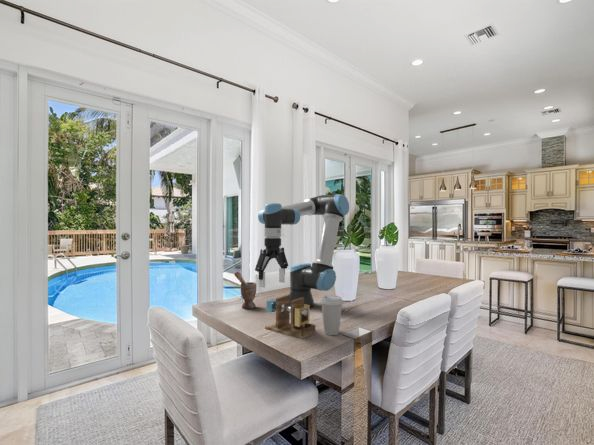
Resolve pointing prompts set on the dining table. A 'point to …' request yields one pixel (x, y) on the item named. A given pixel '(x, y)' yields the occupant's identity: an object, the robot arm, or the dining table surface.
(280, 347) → the dining table surface
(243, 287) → the mortar and pestle
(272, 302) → the shaft
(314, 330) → the bracket
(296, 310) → the tan wooden piece
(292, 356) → the dining table surface
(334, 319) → the coffee cup
